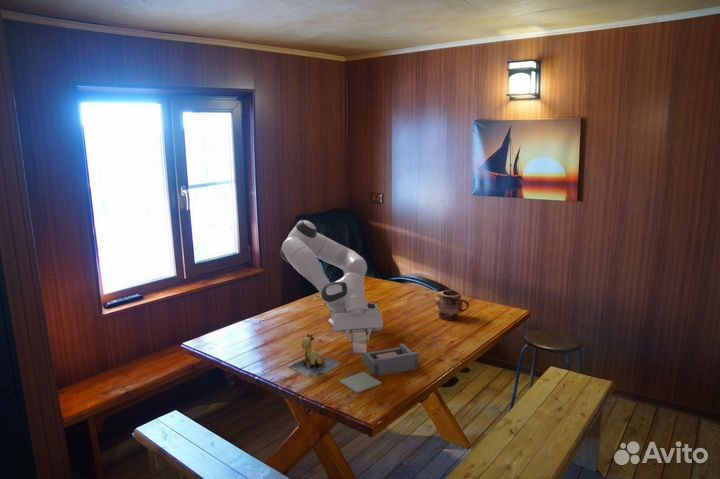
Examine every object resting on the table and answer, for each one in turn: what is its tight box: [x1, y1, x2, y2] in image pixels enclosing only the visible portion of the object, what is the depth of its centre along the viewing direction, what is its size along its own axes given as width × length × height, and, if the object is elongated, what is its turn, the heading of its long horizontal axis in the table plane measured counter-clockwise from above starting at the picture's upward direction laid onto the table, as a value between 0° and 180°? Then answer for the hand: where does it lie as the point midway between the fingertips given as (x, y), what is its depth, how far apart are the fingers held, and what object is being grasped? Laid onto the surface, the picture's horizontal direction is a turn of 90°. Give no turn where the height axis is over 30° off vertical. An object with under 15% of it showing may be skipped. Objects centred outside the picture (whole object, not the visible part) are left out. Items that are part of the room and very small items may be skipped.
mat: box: [339, 371, 382, 394], centre depth 213 cm, size 12×12×1 cm
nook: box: [361, 343, 419, 378], centre depth 228 cm, size 16×20×7 cm
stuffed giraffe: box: [287, 333, 341, 379], centre depth 228 cm, size 16×18×16 cm
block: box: [351, 329, 367, 354], centre depth 209 cm, size 4×5×8 cm
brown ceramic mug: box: [433, 289, 470, 321], centre depth 281 cm, size 20×12×14 cm, turn 60°
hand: (359, 341), depth 209 cm, fingers closed on block, 5 cm apart
